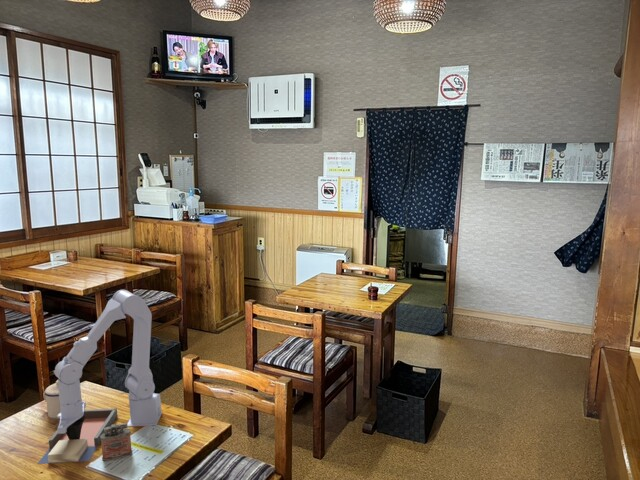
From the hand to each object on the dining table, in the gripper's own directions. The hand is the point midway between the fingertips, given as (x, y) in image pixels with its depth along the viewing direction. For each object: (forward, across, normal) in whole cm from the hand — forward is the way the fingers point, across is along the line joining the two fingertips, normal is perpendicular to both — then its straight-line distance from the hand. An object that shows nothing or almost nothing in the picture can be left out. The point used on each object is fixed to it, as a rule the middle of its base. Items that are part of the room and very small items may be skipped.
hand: (75, 442), depth 143 cm
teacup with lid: (+2, -21, -14) cm, 25 cm away
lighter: (+2, +6, +14) cm, 16 cm away
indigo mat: (+1, +5, 0) cm, 5 cm away
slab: (+1, +5, 0) cm, 5 cm away
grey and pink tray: (+1, -7, 0) cm, 8 cm away
